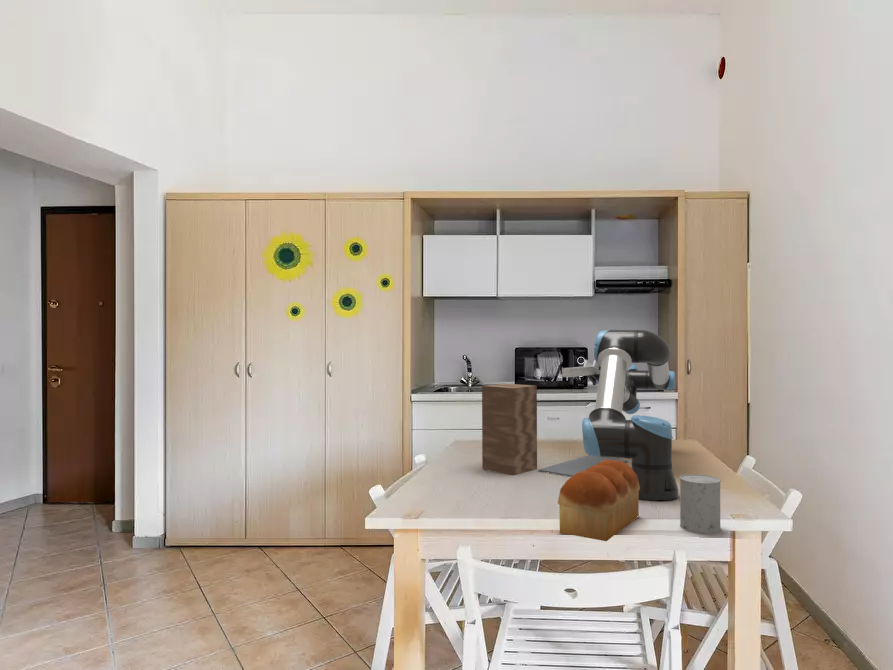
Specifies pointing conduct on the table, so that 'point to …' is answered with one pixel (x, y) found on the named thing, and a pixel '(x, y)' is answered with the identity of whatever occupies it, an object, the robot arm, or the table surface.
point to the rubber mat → (576, 465)
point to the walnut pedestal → (509, 428)
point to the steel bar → (578, 371)
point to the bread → (599, 500)
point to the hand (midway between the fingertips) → (589, 363)
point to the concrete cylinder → (700, 503)
